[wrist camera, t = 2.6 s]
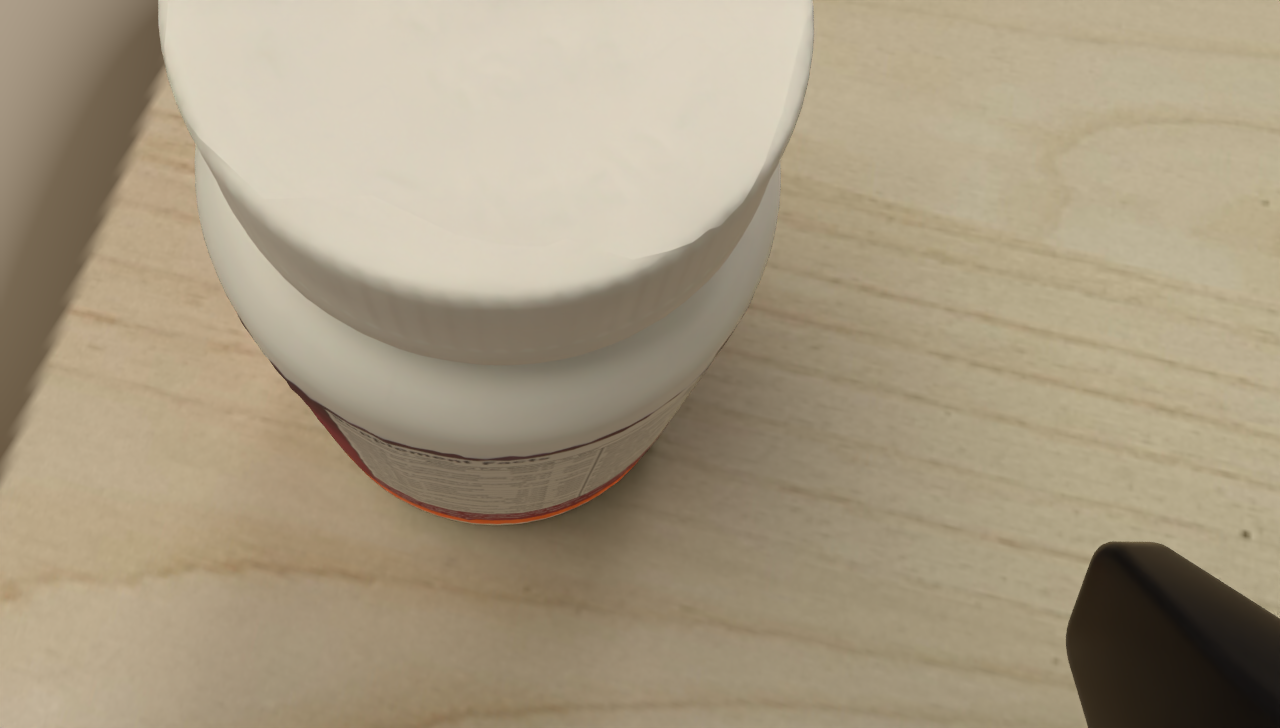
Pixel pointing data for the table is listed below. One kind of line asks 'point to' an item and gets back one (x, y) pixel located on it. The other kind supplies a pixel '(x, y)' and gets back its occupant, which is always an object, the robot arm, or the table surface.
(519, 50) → the pill bottle
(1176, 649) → the robot arm
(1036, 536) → the table surface
